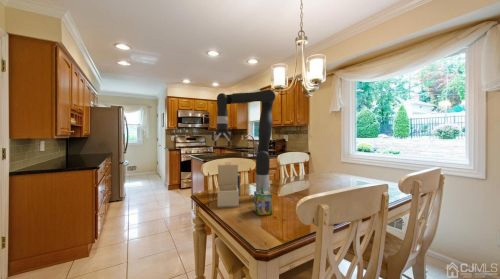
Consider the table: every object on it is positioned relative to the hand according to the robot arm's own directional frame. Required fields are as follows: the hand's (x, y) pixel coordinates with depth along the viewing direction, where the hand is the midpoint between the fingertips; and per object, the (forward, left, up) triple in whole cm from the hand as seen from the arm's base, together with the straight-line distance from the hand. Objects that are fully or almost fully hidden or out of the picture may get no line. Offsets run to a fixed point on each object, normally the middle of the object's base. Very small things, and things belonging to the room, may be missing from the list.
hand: (222, 146), depth 149 cm
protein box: (-5, -9, -37) cm, 38 cm away
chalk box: (-24, +28, -37) cm, 52 cm away
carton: (-4, +11, -36) cm, 38 cm away
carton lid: (-4, +5, -19) cm, 20 cm away
